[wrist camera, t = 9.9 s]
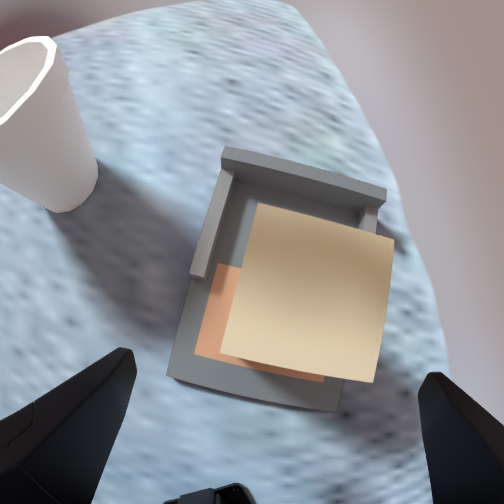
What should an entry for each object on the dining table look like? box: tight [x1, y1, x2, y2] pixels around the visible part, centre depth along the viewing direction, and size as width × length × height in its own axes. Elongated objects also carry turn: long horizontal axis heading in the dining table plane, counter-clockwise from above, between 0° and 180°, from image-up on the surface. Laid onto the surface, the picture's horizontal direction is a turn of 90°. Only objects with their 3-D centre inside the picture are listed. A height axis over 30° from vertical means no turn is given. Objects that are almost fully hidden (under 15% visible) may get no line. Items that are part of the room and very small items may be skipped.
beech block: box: [220, 203, 394, 383], centre depth 16 cm, size 5×5×12 cm
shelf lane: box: [166, 146, 387, 412], centre depth 21 cm, size 16×12×4 cm
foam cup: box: [0, 36, 98, 213], centre depth 18 cm, size 10×9×13 cm
